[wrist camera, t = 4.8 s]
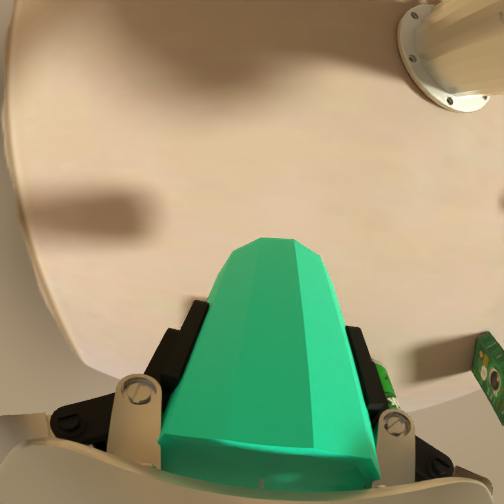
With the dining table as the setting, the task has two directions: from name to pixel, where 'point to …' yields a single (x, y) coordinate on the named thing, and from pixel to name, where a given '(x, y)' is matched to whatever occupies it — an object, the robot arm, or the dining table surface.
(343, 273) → the dining table surface
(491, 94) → the robot arm
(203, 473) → the candle
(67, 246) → the dining table surface
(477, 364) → the coffee box
